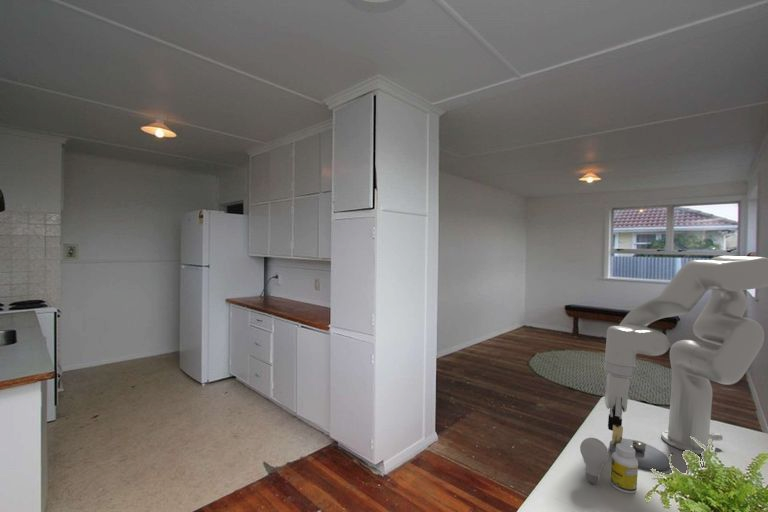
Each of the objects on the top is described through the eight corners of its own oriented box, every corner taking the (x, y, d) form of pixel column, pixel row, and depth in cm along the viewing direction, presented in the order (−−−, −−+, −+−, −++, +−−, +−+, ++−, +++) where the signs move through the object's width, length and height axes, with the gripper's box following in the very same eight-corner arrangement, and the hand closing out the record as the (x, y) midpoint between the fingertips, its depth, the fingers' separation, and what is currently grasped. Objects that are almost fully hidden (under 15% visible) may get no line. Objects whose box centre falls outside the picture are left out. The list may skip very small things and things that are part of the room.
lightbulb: (595, 493, 85) (598, 448, 85) (572, 478, 91) (575, 435, 91) (612, 488, 88) (615, 443, 88) (589, 473, 94) (592, 431, 93)
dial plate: (641, 442, 110) (641, 437, 110) (683, 470, 97) (683, 465, 96) (598, 442, 109) (598, 437, 109) (634, 471, 95) (635, 465, 95)
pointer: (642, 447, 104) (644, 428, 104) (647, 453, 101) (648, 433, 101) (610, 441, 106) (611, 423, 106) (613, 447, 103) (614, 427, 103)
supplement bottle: (605, 478, 91) (607, 440, 91) (627, 480, 91) (629, 442, 91) (618, 493, 86) (621, 453, 86) (641, 495, 86) (644, 454, 86)
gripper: (602, 359, 115) (598, 416, 116) (606, 373, 102) (601, 437, 102) (630, 364, 112) (626, 423, 112) (638, 379, 98) (633, 445, 99)
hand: (614, 429), depth 107 cm, fingers closed
